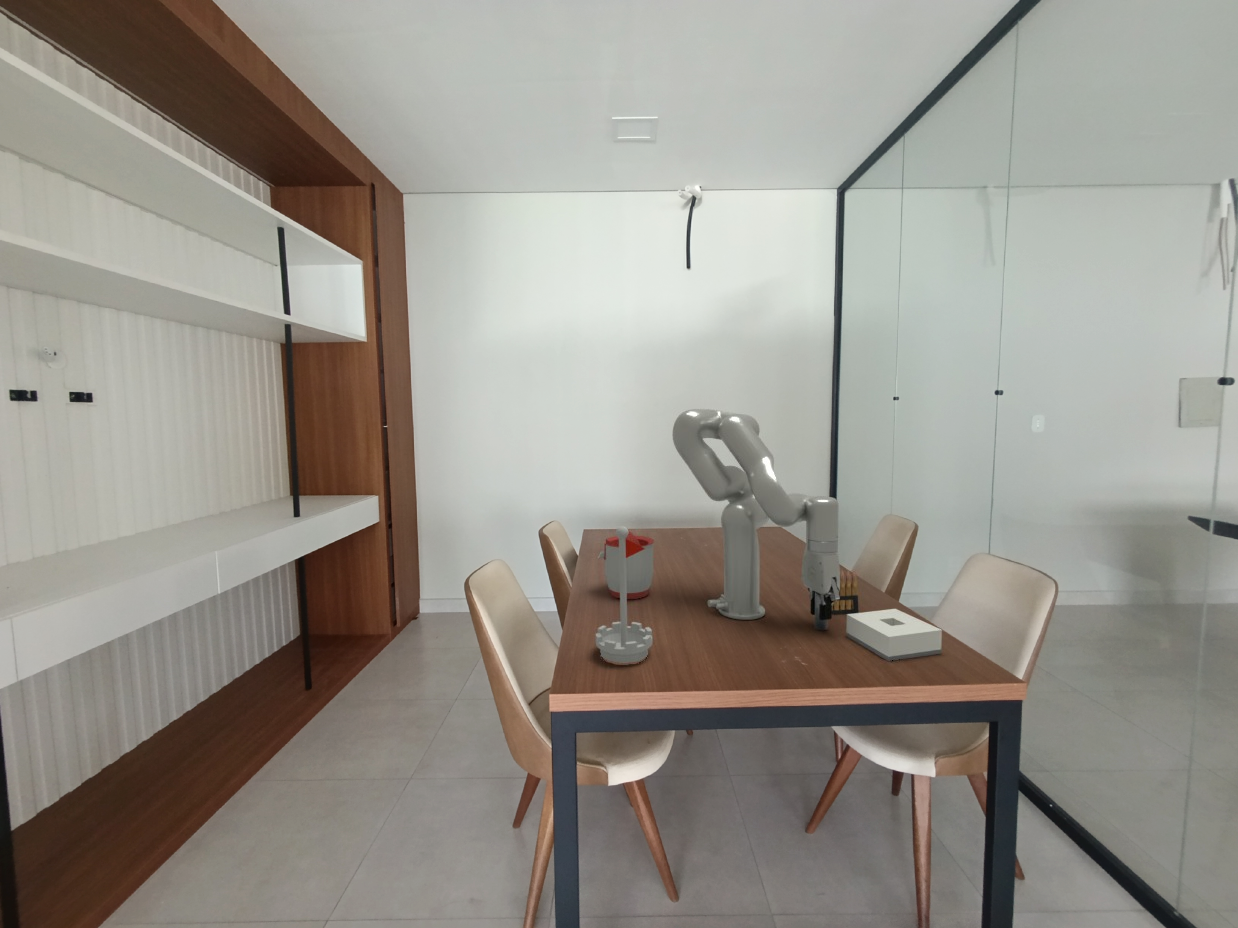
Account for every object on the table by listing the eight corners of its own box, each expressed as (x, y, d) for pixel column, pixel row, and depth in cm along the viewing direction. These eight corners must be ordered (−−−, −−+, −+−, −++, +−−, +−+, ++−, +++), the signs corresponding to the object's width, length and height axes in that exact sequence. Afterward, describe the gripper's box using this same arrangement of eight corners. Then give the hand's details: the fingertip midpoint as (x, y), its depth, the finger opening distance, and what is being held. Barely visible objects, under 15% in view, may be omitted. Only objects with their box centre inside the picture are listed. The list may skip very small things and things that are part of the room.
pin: (819, 631, 131) (819, 592, 131) (812, 626, 134) (812, 588, 133) (829, 629, 132) (830, 591, 131) (822, 625, 135) (822, 587, 134)
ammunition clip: (854, 610, 145) (855, 568, 144) (858, 613, 143) (859, 570, 142) (818, 612, 144) (818, 570, 143) (821, 615, 142) (821, 572, 141)
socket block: (888, 661, 114) (888, 636, 114) (846, 636, 128) (846, 614, 128) (941, 653, 118) (941, 629, 117) (894, 629, 131) (895, 608, 131)
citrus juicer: (600, 586, 171) (599, 526, 169) (653, 586, 170) (653, 525, 168) (596, 602, 155) (595, 536, 153) (655, 602, 154) (654, 536, 153)
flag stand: (591, 666, 115) (588, 531, 112) (601, 641, 127) (598, 520, 125) (650, 669, 113) (648, 532, 110) (654, 643, 126) (652, 520, 123)
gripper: (790, 539, 138) (790, 607, 140) (828, 554, 123) (827, 630, 124) (815, 537, 140) (814, 604, 142) (856, 552, 124) (855, 627, 126)
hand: (820, 616), depth 133 cm, fingers closed on pin, 3 cm apart
